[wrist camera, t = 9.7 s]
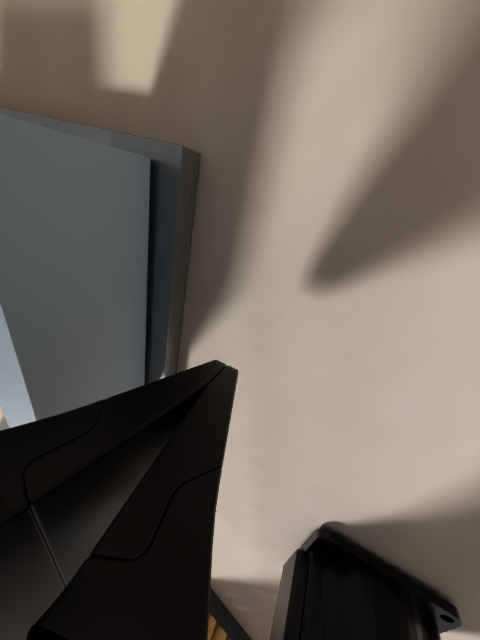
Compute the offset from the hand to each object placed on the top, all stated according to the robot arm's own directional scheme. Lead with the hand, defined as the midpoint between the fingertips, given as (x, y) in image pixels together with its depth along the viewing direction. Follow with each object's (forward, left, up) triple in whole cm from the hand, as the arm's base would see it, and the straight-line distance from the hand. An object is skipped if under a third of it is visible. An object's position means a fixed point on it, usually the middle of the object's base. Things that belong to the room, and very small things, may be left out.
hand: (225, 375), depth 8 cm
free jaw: (+6, 0, -1) cm, 6 cm away
